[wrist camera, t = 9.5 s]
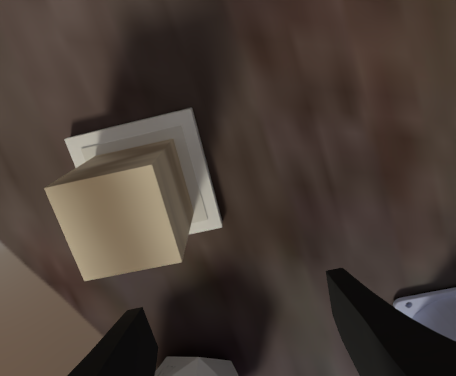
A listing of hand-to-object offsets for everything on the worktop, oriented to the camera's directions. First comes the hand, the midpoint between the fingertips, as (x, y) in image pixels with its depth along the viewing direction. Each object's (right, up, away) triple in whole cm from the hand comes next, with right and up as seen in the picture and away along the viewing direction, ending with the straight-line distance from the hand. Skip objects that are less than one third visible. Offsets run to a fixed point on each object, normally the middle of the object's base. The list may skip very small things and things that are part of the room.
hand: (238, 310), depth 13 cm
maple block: (-6, +5, +8) cm, 11 cm away
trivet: (-6, +5, +9) cm, 12 cm away
